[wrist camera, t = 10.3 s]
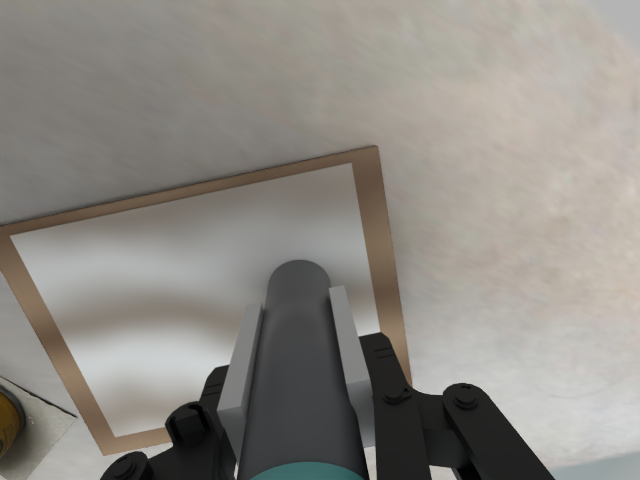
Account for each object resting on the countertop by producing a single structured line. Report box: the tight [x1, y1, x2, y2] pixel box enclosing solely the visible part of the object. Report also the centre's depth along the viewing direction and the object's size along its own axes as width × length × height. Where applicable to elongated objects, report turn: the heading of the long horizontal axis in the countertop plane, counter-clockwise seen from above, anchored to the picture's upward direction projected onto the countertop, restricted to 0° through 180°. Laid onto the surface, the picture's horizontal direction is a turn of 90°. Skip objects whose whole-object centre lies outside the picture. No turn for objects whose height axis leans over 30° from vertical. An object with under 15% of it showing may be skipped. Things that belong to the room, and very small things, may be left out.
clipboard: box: [0, 145, 413, 456], centre depth 21 cm, size 16×21×2 cm
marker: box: [237, 260, 370, 480], centre depth 14 cm, size 4×4×14 cm
